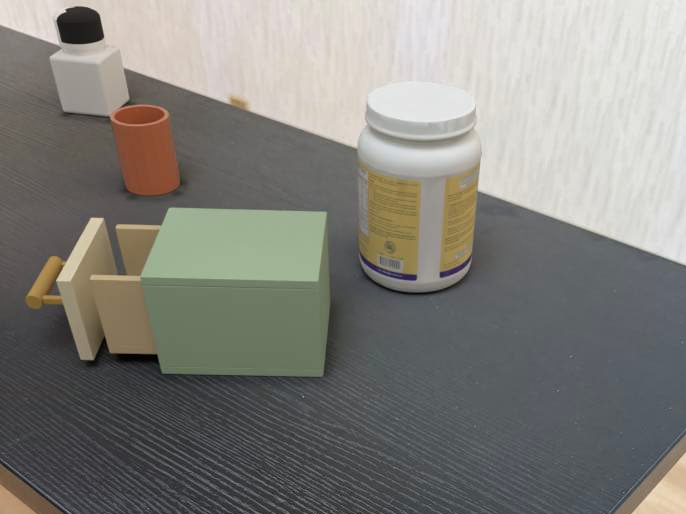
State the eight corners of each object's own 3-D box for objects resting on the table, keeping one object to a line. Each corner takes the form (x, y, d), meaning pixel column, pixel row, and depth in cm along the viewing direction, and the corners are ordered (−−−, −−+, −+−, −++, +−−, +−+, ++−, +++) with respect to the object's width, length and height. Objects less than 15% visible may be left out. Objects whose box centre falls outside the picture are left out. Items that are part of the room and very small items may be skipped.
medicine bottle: (130, 100, 118) (111, 4, 109) (110, 118, 113) (88, 19, 104) (84, 95, 119) (62, 0, 110) (62, 113, 114) (36, 14, 105)
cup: (119, 195, 97) (103, 124, 91) (131, 172, 101) (117, 103, 96) (175, 196, 97) (162, 126, 91) (184, 173, 102) (173, 105, 96)
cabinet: (161, 374, 73) (139, 276, 66) (186, 300, 81) (168, 207, 74) (323, 377, 73) (318, 280, 66) (330, 303, 82) (326, 211, 75)
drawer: (33, 359, 72) (4, 279, 67) (68, 292, 80) (44, 216, 74) (231, 363, 73) (219, 284, 67) (246, 296, 81) (237, 221, 75)
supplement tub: (449, 235, 93) (461, 73, 80) (487, 289, 85) (506, 119, 72) (346, 247, 90) (342, 81, 78) (375, 303, 82) (375, 129, 70)
